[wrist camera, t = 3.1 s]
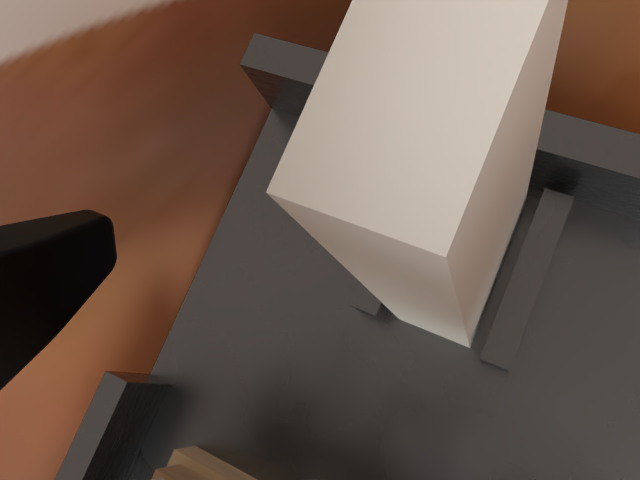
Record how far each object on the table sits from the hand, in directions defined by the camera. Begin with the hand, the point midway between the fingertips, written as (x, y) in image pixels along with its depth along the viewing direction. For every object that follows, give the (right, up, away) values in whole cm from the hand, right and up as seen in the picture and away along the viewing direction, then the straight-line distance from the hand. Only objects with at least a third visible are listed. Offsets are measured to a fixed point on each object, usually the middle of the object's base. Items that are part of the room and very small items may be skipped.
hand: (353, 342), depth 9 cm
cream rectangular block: (+4, +1, +9) cm, 10 cm away
